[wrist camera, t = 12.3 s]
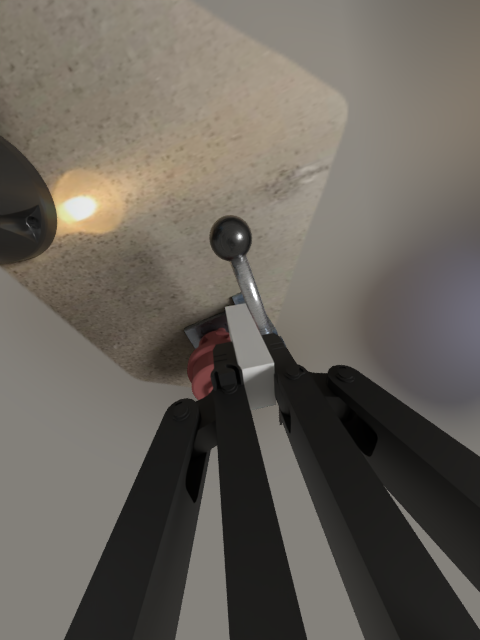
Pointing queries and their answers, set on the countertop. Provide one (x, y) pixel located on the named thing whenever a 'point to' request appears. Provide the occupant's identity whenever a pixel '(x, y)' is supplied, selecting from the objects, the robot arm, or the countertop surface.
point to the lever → (240, 263)
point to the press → (214, 324)
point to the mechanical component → (204, 362)
